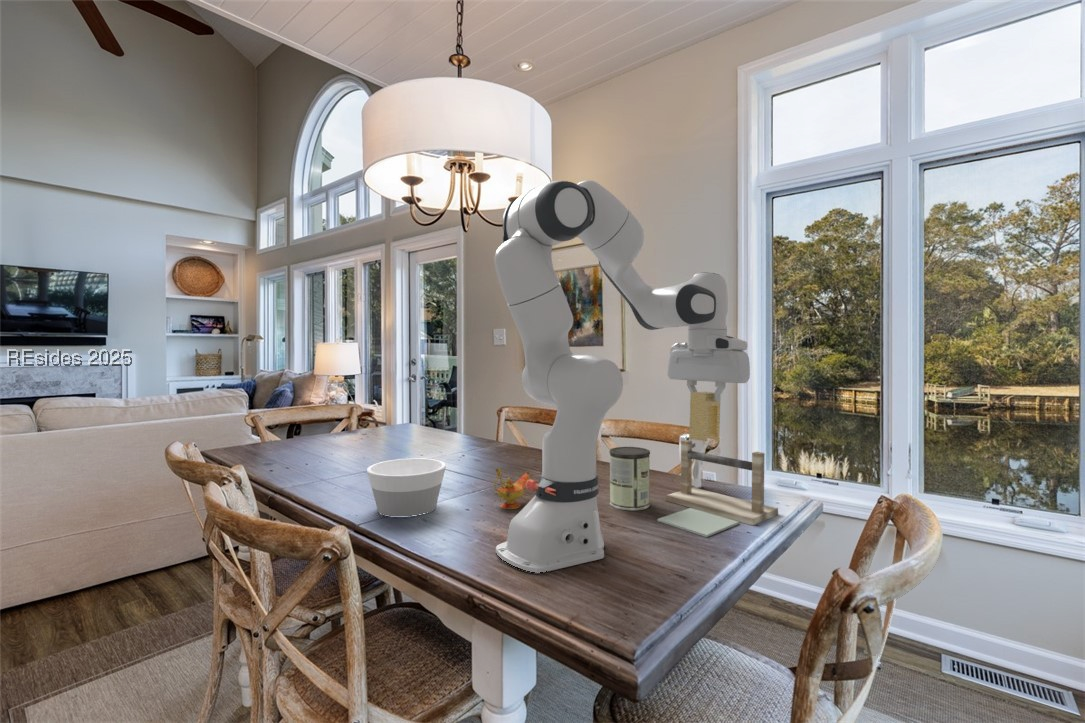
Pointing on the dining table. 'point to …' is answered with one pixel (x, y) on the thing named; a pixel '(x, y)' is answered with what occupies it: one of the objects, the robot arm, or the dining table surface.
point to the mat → (698, 522)
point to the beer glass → (696, 464)
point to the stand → (718, 502)
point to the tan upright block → (704, 416)
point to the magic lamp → (511, 490)
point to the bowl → (406, 485)
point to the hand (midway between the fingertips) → (705, 400)
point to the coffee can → (629, 478)
